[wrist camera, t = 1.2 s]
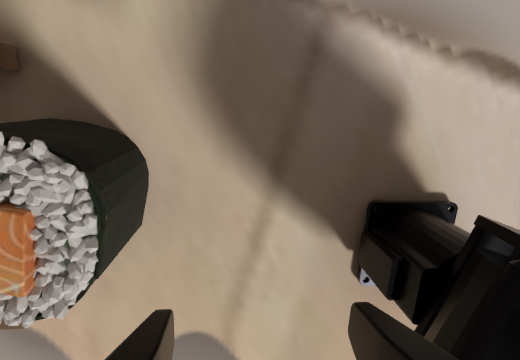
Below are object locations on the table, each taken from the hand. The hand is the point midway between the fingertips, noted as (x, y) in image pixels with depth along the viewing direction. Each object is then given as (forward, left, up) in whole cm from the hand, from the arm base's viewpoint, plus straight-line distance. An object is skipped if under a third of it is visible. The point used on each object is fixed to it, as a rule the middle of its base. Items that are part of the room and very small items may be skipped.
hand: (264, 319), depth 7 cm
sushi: (+10, 0, -12) cm, 16 cm away
